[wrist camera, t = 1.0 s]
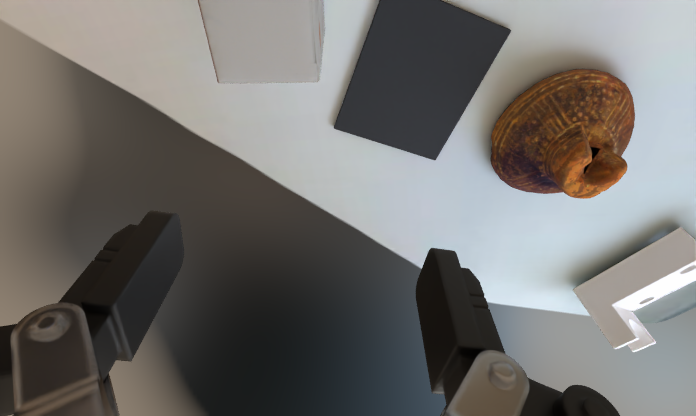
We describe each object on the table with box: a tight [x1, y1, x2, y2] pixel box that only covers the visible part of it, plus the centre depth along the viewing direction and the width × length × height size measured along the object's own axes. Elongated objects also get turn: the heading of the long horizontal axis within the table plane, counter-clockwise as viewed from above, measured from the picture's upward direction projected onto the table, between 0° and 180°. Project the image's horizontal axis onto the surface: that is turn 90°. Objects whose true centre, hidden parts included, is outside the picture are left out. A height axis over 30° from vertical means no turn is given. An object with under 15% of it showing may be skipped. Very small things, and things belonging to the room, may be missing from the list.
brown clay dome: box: [491, 69, 635, 198], centre depth 31 cm, size 12×12×7 cm
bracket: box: [573, 227, 696, 352], centre depth 43 cm, size 13×7×8 cm, turn 144°
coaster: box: [334, 0, 511, 160], centre depth 30 cm, size 10×12×1 cm
